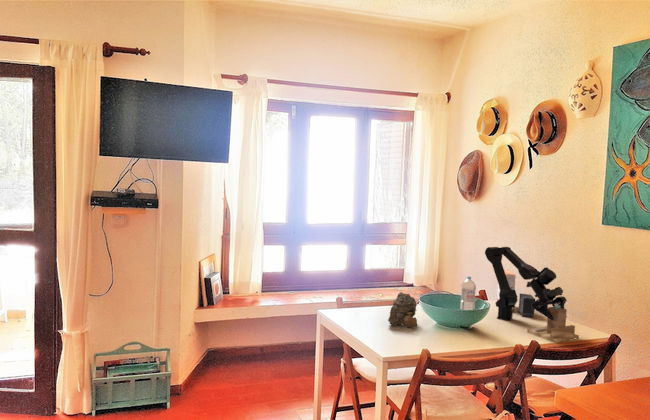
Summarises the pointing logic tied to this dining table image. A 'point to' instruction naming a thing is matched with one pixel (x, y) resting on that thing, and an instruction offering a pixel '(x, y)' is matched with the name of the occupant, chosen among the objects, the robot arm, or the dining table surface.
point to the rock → (403, 311)
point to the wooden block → (556, 318)
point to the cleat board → (555, 333)
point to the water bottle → (468, 295)
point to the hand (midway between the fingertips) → (559, 318)
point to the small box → (526, 305)
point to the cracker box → (511, 282)
